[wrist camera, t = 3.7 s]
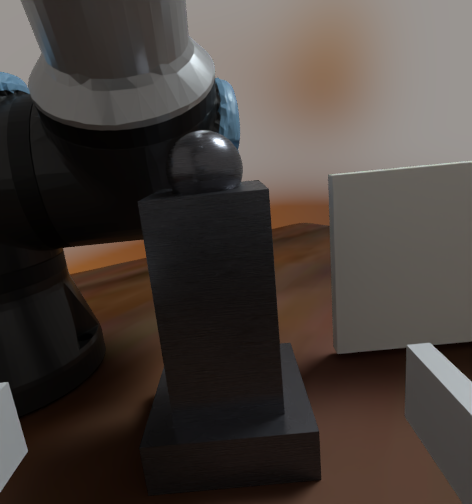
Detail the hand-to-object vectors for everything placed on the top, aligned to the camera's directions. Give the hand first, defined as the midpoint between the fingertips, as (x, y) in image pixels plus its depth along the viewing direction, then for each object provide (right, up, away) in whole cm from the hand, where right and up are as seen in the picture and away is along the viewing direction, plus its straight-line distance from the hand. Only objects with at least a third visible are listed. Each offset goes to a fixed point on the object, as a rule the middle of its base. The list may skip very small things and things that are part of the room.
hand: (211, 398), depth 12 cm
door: (+17, -2, +19) cm, 25 cm away
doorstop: (+1, -6, +11) cm, 13 cm away
